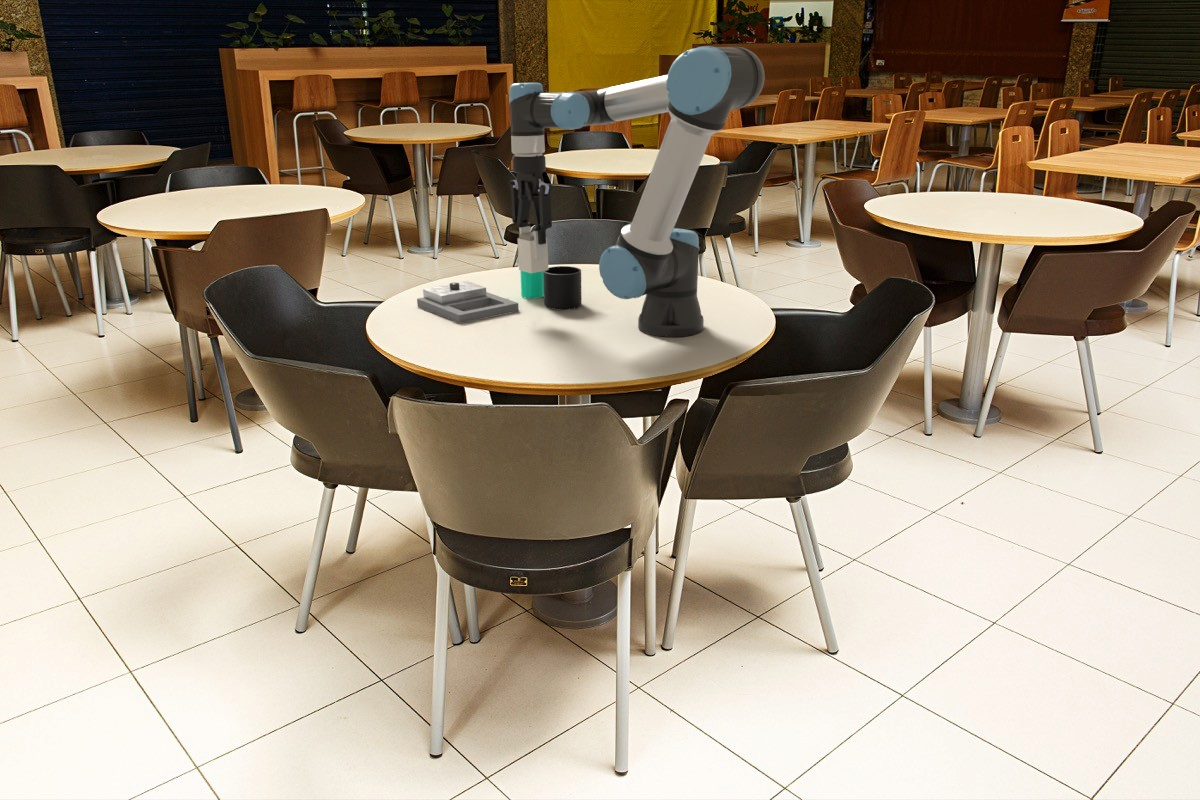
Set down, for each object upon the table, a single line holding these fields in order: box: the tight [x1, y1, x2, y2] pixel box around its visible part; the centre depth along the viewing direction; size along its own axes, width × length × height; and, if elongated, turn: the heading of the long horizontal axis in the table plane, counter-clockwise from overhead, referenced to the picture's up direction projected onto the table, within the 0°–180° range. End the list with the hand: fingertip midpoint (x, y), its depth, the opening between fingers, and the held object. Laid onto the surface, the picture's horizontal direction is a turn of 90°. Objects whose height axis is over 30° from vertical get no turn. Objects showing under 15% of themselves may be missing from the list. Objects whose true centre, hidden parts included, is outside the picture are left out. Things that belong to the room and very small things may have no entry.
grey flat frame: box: [416, 291, 520, 324], centre depth 231 cm, size 20×17×2 cm
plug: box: [517, 231, 550, 273], centre depth 218 cm, size 5×5×8 cm
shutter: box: [422, 280, 487, 304], centre depth 234 cm, size 9×13×3 cm
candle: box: [519, 270, 544, 299], centre depth 241 cm, size 6×6×12 cm
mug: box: [543, 265, 583, 311], centre depth 234 cm, size 9×12×9 cm
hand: (533, 255), depth 218 cm, fingers closed on plug, 5 cm apart
